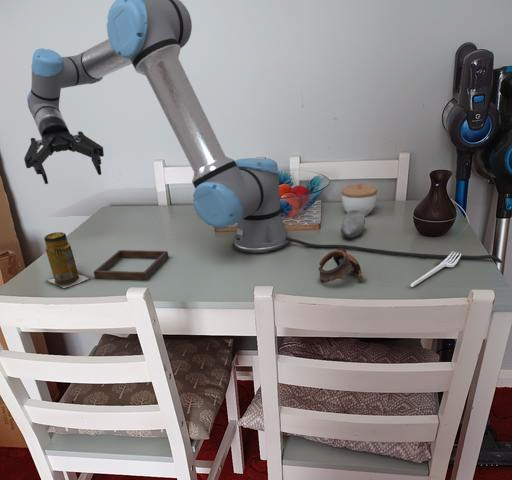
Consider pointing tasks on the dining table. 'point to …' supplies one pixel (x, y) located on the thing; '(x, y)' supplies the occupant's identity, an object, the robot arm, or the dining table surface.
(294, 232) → the dining table surface
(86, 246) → the dining table surface
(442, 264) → the fork
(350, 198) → the trinket box
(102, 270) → the caddy
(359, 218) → the grey oval rock
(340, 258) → the brown curved ring piece
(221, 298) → the dining table surface
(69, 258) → the condiment
